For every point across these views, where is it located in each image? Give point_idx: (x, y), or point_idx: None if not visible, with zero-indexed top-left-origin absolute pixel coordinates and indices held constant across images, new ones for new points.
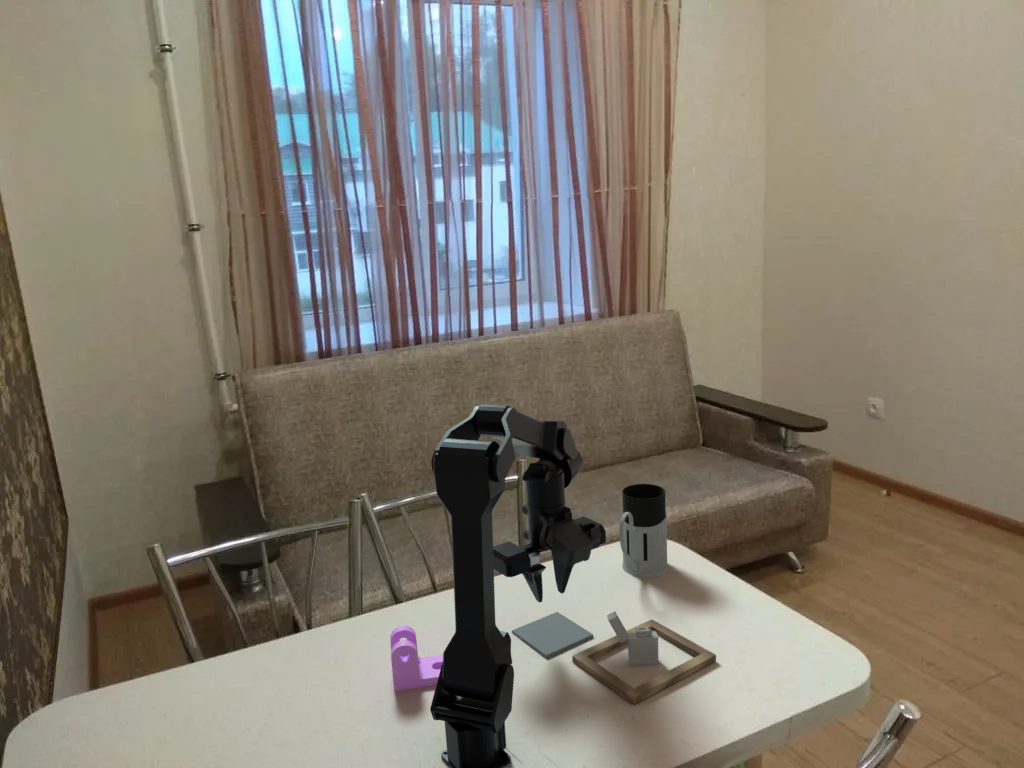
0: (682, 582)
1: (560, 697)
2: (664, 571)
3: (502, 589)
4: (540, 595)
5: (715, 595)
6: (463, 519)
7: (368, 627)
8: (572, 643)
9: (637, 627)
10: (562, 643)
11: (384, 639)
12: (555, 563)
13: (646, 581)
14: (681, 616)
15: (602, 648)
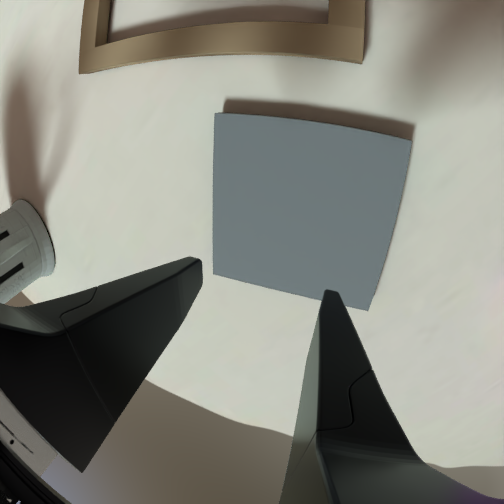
0: (11, 168)
1: (492, 4)
2: (13, 205)
3: (239, 399)
4: (338, 312)
5: (3, 105)
6: None
7: (457, 455)
8: (298, 121)
9: (116, 59)
10: (323, 145)
11: (481, 431)
12: (123, 390)
13: (38, 213)
14: (47, 76)
15: (254, 24)
